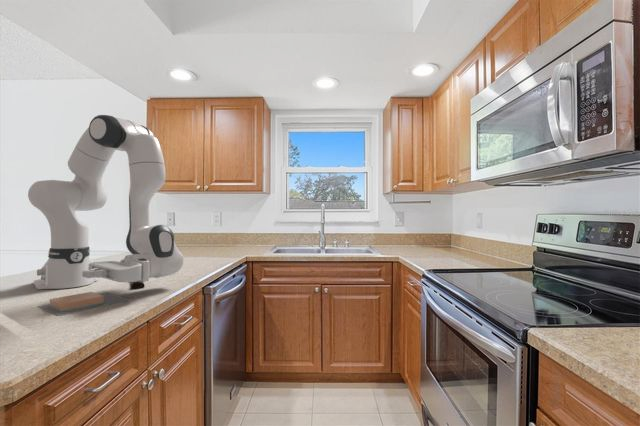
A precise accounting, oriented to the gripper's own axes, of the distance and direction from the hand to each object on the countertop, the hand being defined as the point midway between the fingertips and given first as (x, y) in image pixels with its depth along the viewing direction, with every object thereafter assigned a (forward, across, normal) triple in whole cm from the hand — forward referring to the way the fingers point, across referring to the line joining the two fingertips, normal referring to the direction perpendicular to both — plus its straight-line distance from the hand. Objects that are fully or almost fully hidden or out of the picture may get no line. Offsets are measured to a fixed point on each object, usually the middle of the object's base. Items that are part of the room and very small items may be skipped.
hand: (84, 274), depth 91 cm
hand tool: (-22, -15, +10) cm, 29 cm away
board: (-1, -1, +10) cm, 10 cm away
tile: (-4, -1, +8) cm, 8 cm away
